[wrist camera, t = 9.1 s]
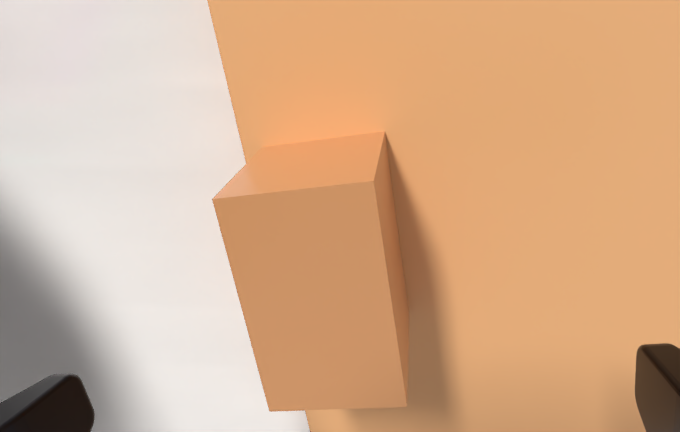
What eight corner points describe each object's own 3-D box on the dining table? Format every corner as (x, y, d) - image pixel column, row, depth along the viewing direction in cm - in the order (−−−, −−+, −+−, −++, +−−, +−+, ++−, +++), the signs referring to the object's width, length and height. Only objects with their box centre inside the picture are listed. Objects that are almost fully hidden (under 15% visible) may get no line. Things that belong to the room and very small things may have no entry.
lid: (324, 409, 18) (290, 560, 14) (219, -61, 13) (103, -89, 8) (808, 393, 16) (982, 573, 11) (929, -209, 10) (1377, -378, 6)
